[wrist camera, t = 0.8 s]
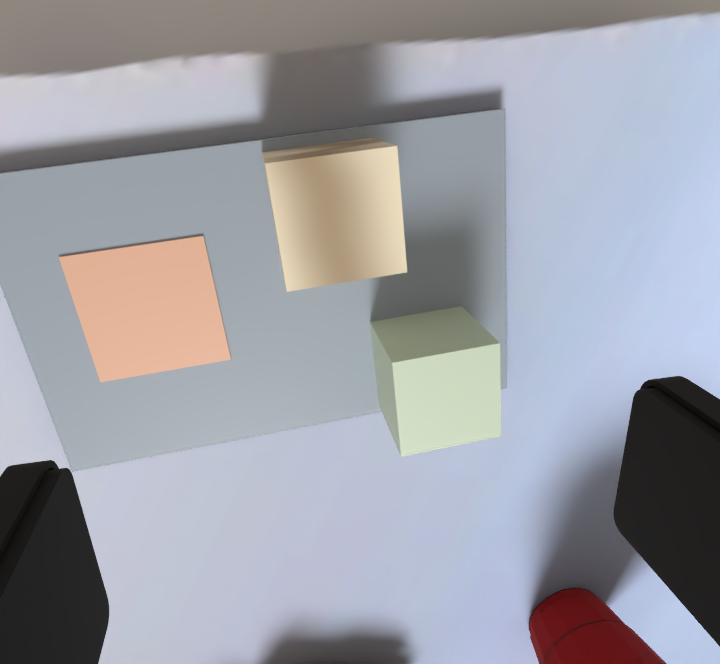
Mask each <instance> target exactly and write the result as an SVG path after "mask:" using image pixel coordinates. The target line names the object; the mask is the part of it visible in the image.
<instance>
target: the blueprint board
mask: <svg viewBox="0 0 720 664" xmlns="http://www.w3.org/2000/svg"><path fill="white" fill-rule="evenodd" d="M366 138H373V139H377V140H380V141H383V142H386V143H390V144H393V145H396V146H397V148H398V161H399V174H400V186H401V199H402V212H403V224H404V237H405V250H406V262H407V272H406V273H400V274H394V275H388V276H382V277H375V278H369V279H363V280H357V281H351V282H345V283H339V284H332V285H326V286H320V287H314V288H308V289H302V290H295V291H289V292H287V290H286V285H285V280H284V275H283V270H282V265H281V260H280V254H279V248H278V242H277V237H276V231H275V225H274V219H273V213H272V207H271V202H270V196H269V190H268V184H267V178H266V172H265V167H264V161H263V155H262V152H267V151H274V150H282V149H290V148H297V147H305V146H313V145H320V144H328V143H336V142H343V141H351V140H358V139H366ZM0 285H1V288H2V290H3V293H4V295H5V298H6V301H7V303H8V306H9V308H10V311H11V314H12V316H13V319H14V321H15V324H16V327H17V329H18V332H19V335H20V337H21V340H22V342H23V345H24V348H25V350H26V353H27V355H28V358H29V361H30V363H31V366H32V368H33V371H34V374H35V376H36V379H37V381H38V384H39V387H40V389H41V392H42V394H43V397H44V400H45V402H46V405H47V407H48V410H49V413H50V415H51V418H52V420H53V423H54V426H55V428H56V431H57V433H58V436H59V439H60V441H61V444H62V446H63V449H64V452H65V454H66V457H67V459H68V462H69V465H70V467H71V470H72V472H74V471H79V470H84V469H90V468H95V467H100V466H105V465H110V464H115V463H121V462H126V461H131V460H136V459H141V458H147V457H152V456H157V455H162V454H167V453H172V452H178V451H183V450H188V449H193V448H198V447H204V446H209V445H214V444H219V443H224V442H229V441H235V440H240V439H245V438H250V437H255V436H261V435H266V434H271V433H276V432H281V431H286V430H292V429H297V428H302V427H307V426H312V425H318V424H323V423H328V422H333V421H338V420H343V419H349V418H354V417H359V416H364V415H369V414H375V413H380V412H382V411H381V408H380V406H379V400H378V391H377V382H376V373H375V364H374V355H373V346H372V337H371V328H370V322H373V321H378V320H384V319H390V318H396V317H402V316H408V315H413V314H419V313H425V312H431V311H437V310H442V309H448V308H454V307H460V306H462V307H463V308H464V309H465V310H466V311H467V312H468V313H469V314H470V315H471V316H472V317H474V318H475V319H476V320H477V321H478V322H479V323H480V324H481V325H482V326H483V327H484V328H485V329H486V330H487V331H488V332H489V333H490V334H491V335H492V336H493V337H494V338H495V339H496V340H497V341H498V342H499V343H500V379H501V389H504V388H507V322H506V144H505V109H492V110H484V111H477V112H469V113H461V114H453V115H445V116H438V117H430V118H422V119H414V120H406V121H398V122H391V123H383V124H375V125H367V126H359V127H352V128H344V129H336V130H328V131H320V132H313V133H305V134H297V135H289V136H281V137H274V138H266V139H258V140H250V141H242V142H235V143H227V144H219V145H211V146H203V147H196V148H188V149H180V150H172V151H164V152H157V153H149V154H141V155H133V156H125V157H118V158H110V159H102V160H94V161H86V162H79V163H71V164H63V165H55V166H47V167H40V168H32V169H24V170H16V171H8V172H0Z"/></svg>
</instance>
